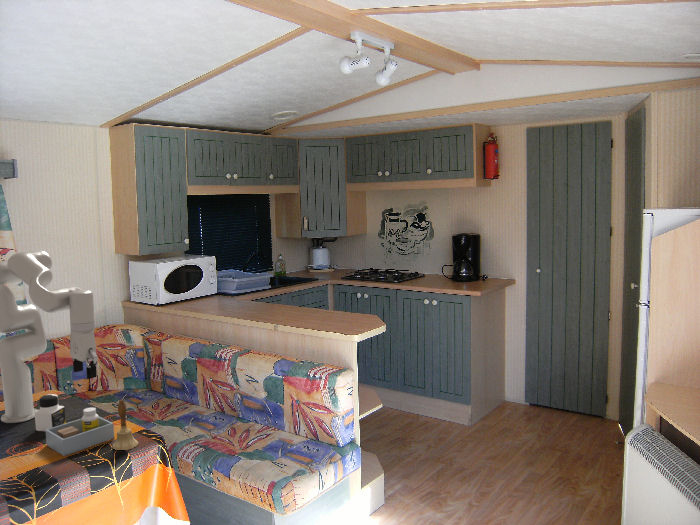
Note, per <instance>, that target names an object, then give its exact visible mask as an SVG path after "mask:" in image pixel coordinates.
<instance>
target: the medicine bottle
mask: <svg viewBox="0 0 700 525" xmlns="http://www.w3.org/2000/svg"><path fill="white" fill-rule="evenodd" d="M58 396H59V395H58V394H54V393H49V394H45V395H43V396H41V397H39V400H38V401H39V409H37V410H38V411H36V412H35V417H34V420H35V424H34V425H35V430H36V431H37V432H45V430H46V429H50V428H53V427H56V426H59V425H62V424H66V423H67V421H66V412H65V411H66V410H65V406H64V405H60V404H59V397H58Z"/></svg>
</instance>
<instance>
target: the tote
mask: <svg viewBox="0 0 700 525" xmlns="http://www.w3.org/2000/svg"><path fill="white" fill-rule="evenodd" d="M71 426H73V427H75V428H76V429H78V430H79V434H77V435H74V436H71V437H68V438H65V439H63V438H61V437H60V436H58V435H57V431H58V430H61V429H65V428H68V427H71ZM114 428H115V425H114V422H111V421H109V420H107V419H105V418H104V417H102V416H99V428H96V429H93V430H90V431H86V432H83V431H82V418H79V419H76V420H72V421H69V422H66V424H62V425H59V426H56V427H53V428H50V429H46V430H45V431H44V432H45V439H46V443H45V444H46V446H47V447H49V448H51V449H52V450H53V451H55V452H56V453H58V454H60V455H61V456H63V457H66V456H69V455H72V454H74V453H77V452H80V451H84V450H86V449H89V448H91V447H90V446H92V447H94V446H93V445H95V446H97V445H100V444H103V443H106V442H108V440H109V441H111V439H112V440H114V439H115V429H114ZM105 441H106V442H105ZM102 442H103V443H102ZM99 443H100V444H99ZM96 444H97V445H96ZM88 447H89V448H88ZM85 448H86V449H85Z"/></svg>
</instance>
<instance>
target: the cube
mask: <svg viewBox="0 0 700 525" xmlns="http://www.w3.org/2000/svg"><path fill="white" fill-rule="evenodd" d="M77 434H79V430H78V429H76V428H75V427H73V426H71V427H68V428H65V429H61V430H58V431H57V435H58V436H60V437H61V438H63V439H65V438H68V437H71V436H74V435H77Z"/></svg>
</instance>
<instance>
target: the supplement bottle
mask: <svg viewBox="0 0 700 525" xmlns="http://www.w3.org/2000/svg"><path fill="white" fill-rule="evenodd" d="M82 412H83V416H82V417H81V419H82V431H83V432H86V431H90V430H93V429H96V428H99V417H100V416H99V414H97V408H96V407H85V408H83V411H82Z"/></svg>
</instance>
